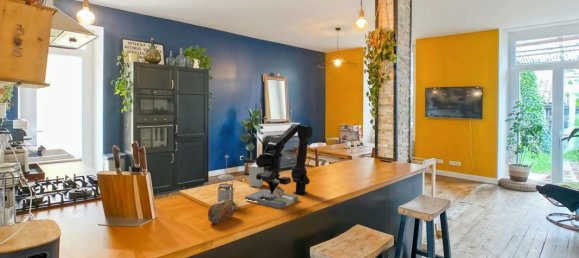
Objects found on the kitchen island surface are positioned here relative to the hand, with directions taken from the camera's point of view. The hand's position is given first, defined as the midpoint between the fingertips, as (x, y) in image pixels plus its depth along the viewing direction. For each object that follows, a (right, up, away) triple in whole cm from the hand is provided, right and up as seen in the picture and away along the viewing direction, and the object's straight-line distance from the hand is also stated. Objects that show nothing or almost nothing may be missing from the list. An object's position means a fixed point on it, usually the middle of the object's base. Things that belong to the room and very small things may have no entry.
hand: (272, 194), depth 175 cm
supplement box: (-12, -1, +30) cm, 32 cm away
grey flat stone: (-21, -6, -30) cm, 37 cm away
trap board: (0, -4, +1) cm, 4 cm away
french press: (-23, -3, -8) cm, 25 cm away
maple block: (+2, 0, -1) cm, 3 cm away
